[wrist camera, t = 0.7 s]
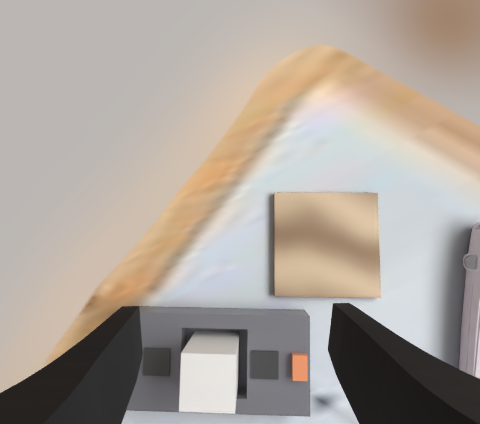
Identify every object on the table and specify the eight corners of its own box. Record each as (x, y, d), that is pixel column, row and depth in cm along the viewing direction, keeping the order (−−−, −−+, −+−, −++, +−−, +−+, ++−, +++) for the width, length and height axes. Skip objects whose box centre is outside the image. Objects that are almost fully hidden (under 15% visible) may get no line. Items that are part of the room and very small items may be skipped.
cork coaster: (378, 296, 29) (380, 297, 29) (274, 295, 30) (274, 296, 29) (374, 193, 30) (377, 192, 30) (274, 193, 31) (274, 192, 30)
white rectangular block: (238, 378, 29) (235, 413, 23) (193, 377, 29) (178, 411, 23) (239, 332, 29) (236, 354, 23) (195, 331, 29) (181, 353, 23)
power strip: (303, 308, 30) (310, 317, 26) (304, 398, 29) (311, 420, 26) (134, 305, 31) (119, 313, 27) (130, 393, 30) (114, 413, 26)
